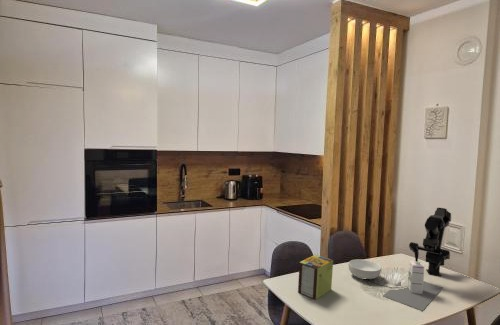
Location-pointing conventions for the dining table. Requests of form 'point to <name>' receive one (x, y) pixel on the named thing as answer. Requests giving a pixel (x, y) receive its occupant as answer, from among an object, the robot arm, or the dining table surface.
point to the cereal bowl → (364, 269)
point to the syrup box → (416, 277)
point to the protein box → (315, 276)
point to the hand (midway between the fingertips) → (426, 265)
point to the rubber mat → (414, 295)
